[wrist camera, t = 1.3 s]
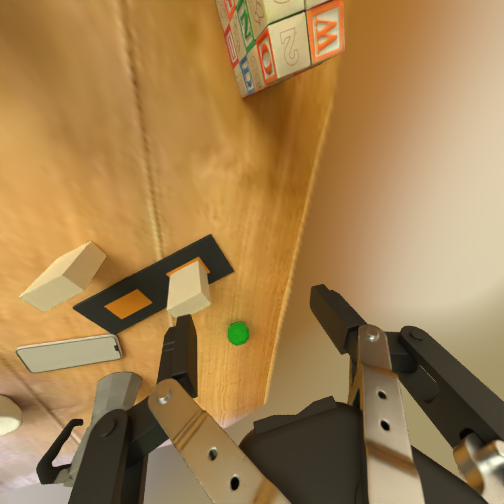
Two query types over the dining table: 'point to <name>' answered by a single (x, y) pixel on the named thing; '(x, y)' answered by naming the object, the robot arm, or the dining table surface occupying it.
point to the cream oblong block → (64, 277)
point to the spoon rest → (9, 416)
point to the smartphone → (69, 353)
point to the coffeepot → (107, 398)
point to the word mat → (150, 287)
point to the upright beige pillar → (188, 290)
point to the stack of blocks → (279, 38)
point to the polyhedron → (238, 333)
